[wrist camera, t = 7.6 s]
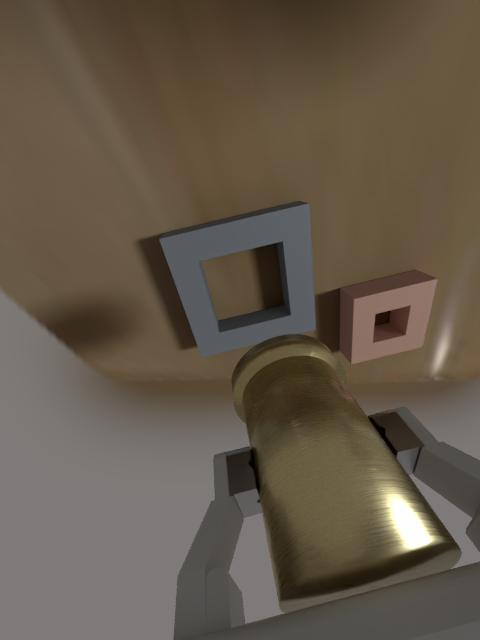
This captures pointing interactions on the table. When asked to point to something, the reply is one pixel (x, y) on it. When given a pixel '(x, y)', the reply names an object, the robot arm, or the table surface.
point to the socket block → (234, 236)
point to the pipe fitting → (329, 481)
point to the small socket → (380, 296)
